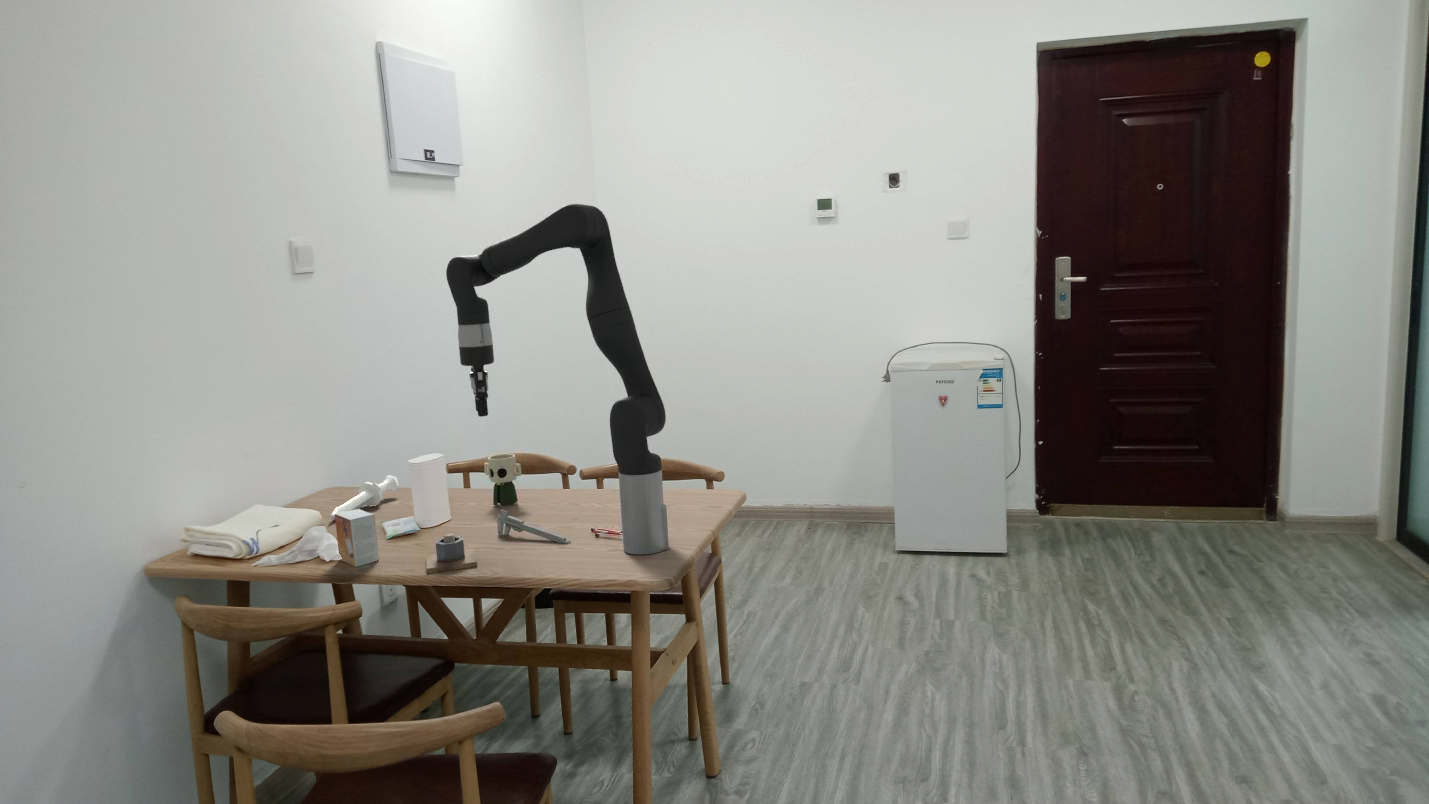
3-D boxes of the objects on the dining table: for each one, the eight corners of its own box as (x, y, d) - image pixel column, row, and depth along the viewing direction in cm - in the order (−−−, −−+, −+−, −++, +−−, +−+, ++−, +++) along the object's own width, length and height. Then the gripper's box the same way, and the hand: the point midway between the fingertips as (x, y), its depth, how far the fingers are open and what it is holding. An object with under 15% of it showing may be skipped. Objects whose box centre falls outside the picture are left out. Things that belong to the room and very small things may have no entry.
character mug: (480, 507, 243) (475, 459, 241) (495, 500, 249) (491, 453, 248) (516, 509, 239) (512, 460, 237) (531, 502, 246) (527, 454, 244)
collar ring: (464, 552, 202) (462, 534, 201) (465, 560, 196) (463, 541, 196) (437, 556, 200) (435, 538, 200) (437, 563, 195) (435, 545, 194)
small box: (339, 560, 204) (333, 513, 203) (364, 553, 208) (358, 507, 207) (354, 567, 199) (349, 519, 197) (380, 560, 202) (375, 513, 201)
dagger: (341, 520, 233) (411, 477, 258) (324, 503, 233) (395, 461, 258) (328, 538, 236) (398, 494, 261) (311, 522, 236) (382, 479, 261)
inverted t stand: (474, 552, 205) (472, 526, 204) (477, 566, 195) (474, 538, 194) (426, 559, 202) (424, 532, 201) (427, 573, 192) (424, 545, 191)
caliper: (498, 535, 218) (495, 509, 217) (501, 534, 219) (498, 508, 218) (568, 545, 208) (566, 517, 207) (571, 543, 209) (569, 516, 208)
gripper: (494, 344, 209) (501, 416, 211) (490, 340, 222) (496, 407, 225) (460, 347, 207) (466, 419, 209) (457, 342, 220) (464, 410, 223)
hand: (482, 413), depth 217 cm, fingers open, 8 cm apart
